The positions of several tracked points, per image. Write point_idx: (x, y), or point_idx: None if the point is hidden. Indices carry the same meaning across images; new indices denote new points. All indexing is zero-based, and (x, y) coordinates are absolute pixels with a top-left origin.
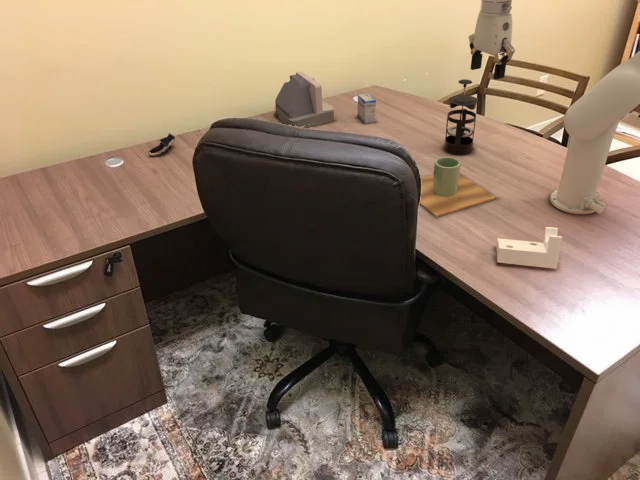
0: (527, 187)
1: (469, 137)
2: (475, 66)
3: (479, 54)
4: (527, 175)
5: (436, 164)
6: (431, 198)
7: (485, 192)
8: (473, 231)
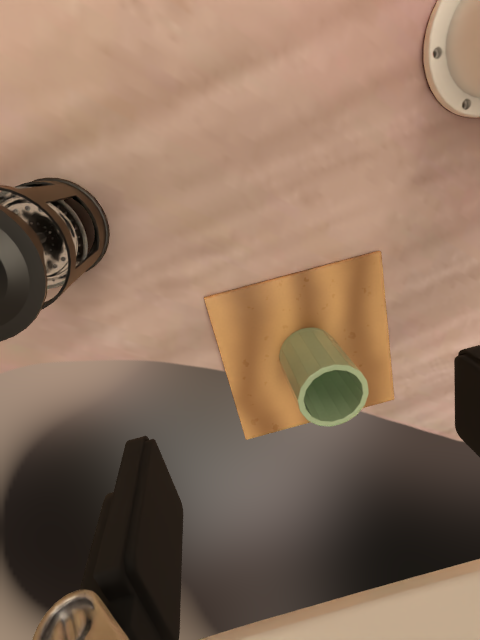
0: (359, 132)
1: (25, 185)
2: (172, 506)
3: (139, 603)
4: (294, 87)
5: (333, 425)
6: None
7: (351, 266)
8: (466, 347)
